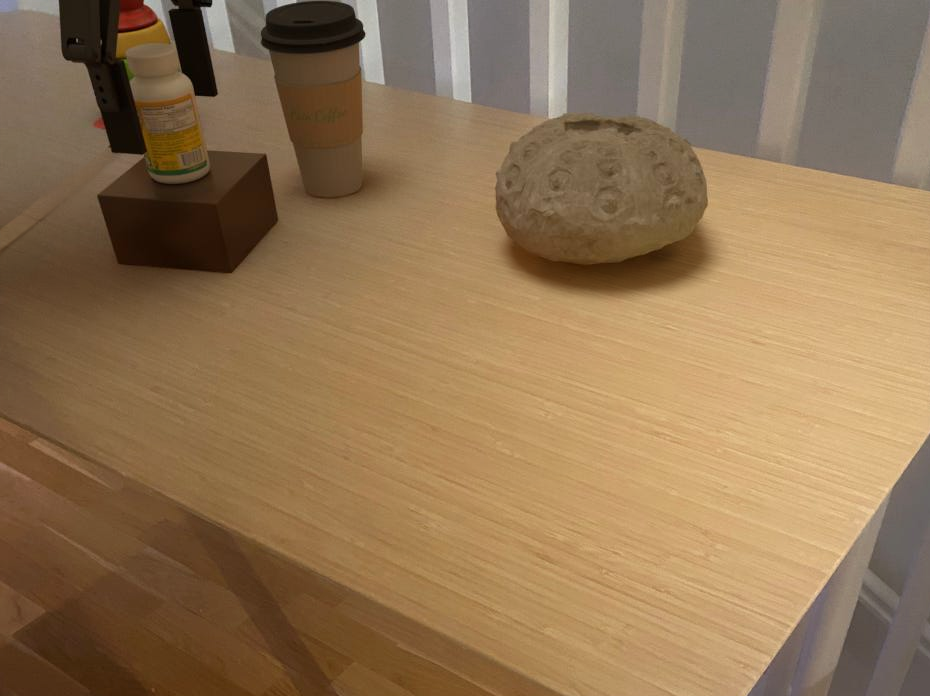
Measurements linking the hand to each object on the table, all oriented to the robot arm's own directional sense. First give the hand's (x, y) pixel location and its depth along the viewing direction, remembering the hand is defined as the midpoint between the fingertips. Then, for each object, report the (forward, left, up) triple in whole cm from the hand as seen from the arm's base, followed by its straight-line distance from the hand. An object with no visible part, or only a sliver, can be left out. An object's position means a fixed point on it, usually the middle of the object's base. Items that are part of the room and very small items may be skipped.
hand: (168, 122), depth 83 cm
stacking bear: (-18, +25, -10) cm, 32 cm away
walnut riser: (0, 0, -10) cm, 10 cm away
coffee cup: (+8, +14, -10) cm, 19 cm away
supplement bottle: (0, 0, -4) cm, 4 cm away
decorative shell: (+36, +5, -10) cm, 38 cm away
